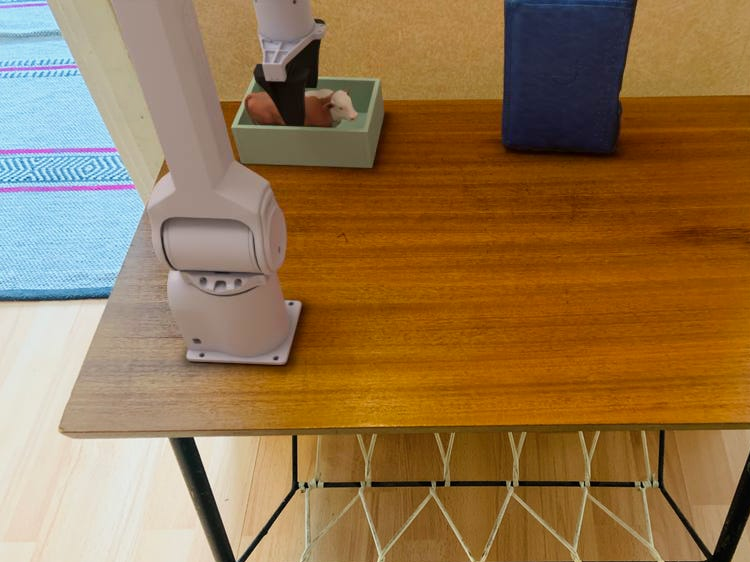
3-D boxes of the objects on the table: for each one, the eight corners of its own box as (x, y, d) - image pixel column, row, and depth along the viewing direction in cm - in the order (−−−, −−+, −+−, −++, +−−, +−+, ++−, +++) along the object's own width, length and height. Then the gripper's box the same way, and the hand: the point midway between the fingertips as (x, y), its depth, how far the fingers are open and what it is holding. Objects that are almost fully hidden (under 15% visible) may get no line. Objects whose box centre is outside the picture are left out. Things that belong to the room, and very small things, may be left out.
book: (616, 135, 96) (643, -29, 80) (618, 162, 93) (647, -5, 77) (501, 130, 97) (505, -34, 81) (498, 156, 93) (503, -10, 78)
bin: (241, 163, 92) (230, 127, 88) (262, 110, 99) (253, 74, 95) (372, 168, 92) (367, 131, 88) (384, 114, 99) (380, 78, 95)
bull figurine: (361, 163, 91) (352, 102, 85) (251, 154, 92) (234, 92, 86) (369, 141, 94) (361, 80, 88) (262, 132, 95) (247, 71, 89)
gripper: (303, 22, 74) (325, 143, 84) (330, -45, 83) (346, 72, 93) (230, 20, 74) (261, 141, 84) (264, -47, 83) (288, 70, 93)
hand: (301, 105), depth 89 cm, fingers open, 7 cm apart
